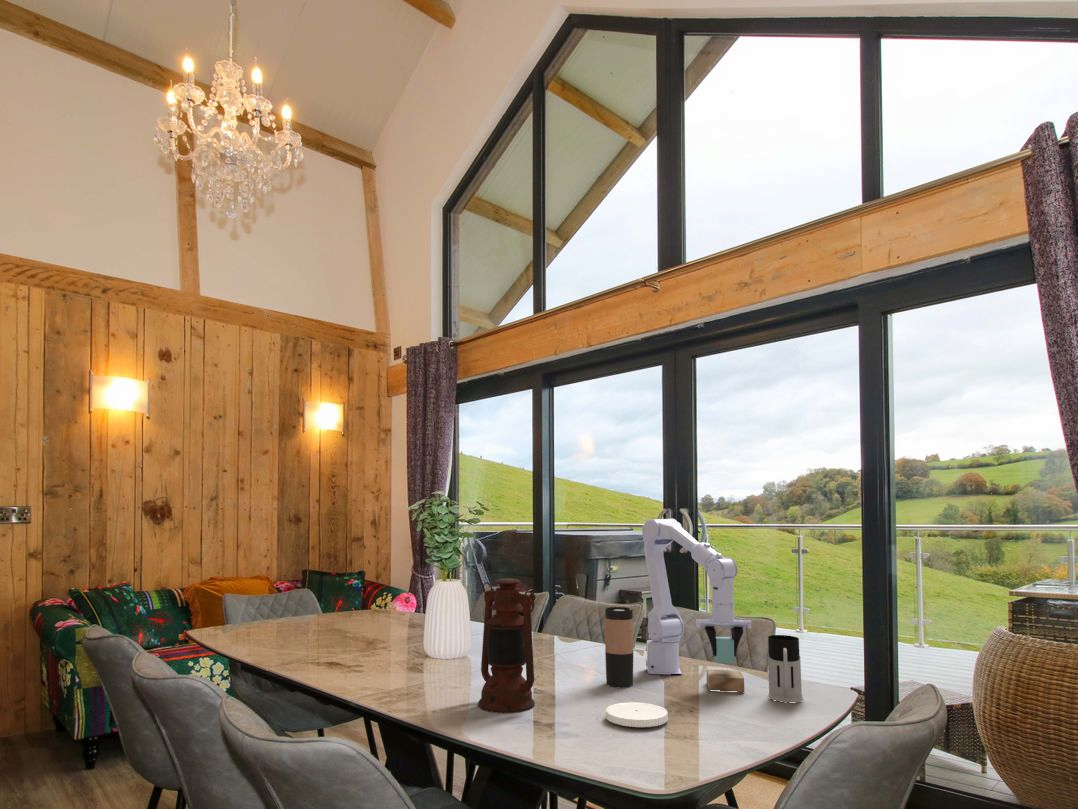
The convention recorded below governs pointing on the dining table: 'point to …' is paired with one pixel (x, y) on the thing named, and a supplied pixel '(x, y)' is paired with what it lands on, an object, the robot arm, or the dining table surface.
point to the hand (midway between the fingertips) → (724, 655)
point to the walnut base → (725, 680)
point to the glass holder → (784, 668)
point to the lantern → (507, 649)
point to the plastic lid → (636, 714)
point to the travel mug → (619, 646)
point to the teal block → (724, 650)
